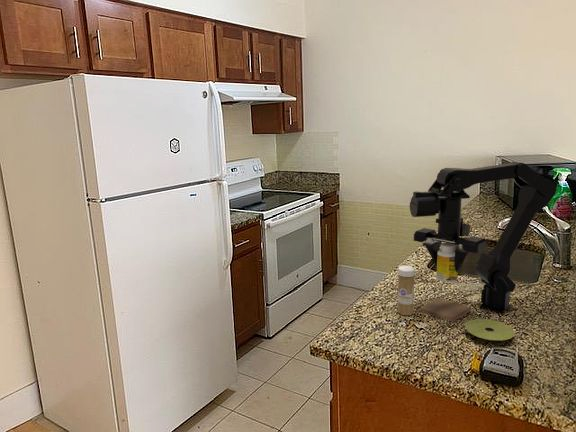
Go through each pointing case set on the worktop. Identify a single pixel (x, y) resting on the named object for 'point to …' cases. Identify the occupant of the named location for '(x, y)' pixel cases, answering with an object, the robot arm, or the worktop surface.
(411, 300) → the sprinkles bottle
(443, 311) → the walnut board
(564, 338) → the worktop surface
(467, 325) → the yellow-green flat disc
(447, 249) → the supplement bottle
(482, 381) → the worktop surface
